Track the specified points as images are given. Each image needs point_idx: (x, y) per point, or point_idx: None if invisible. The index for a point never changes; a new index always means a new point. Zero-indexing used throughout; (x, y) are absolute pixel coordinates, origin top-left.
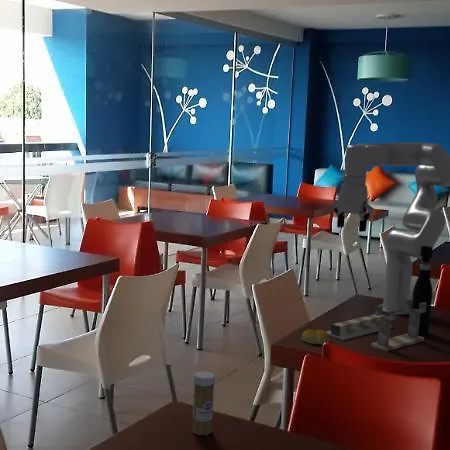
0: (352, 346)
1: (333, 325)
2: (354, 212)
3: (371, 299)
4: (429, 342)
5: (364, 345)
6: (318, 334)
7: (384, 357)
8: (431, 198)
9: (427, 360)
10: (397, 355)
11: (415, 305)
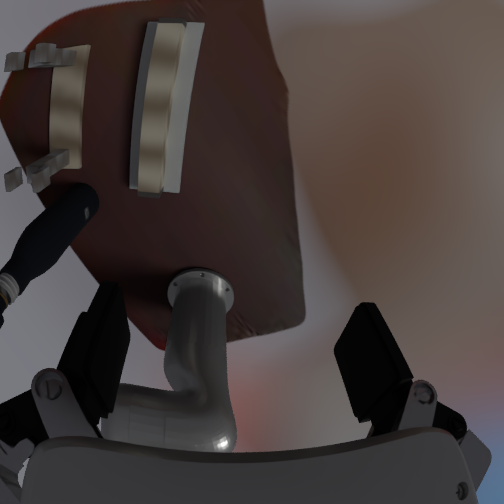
0: (116, 12)
1: (176, 18)
2: (105, 462)
3: (273, 319)
4: None
5: (102, 37)
6: None
7: (51, 26)
8: None
9: (8, 85)
10: None
11: (52, 209)
